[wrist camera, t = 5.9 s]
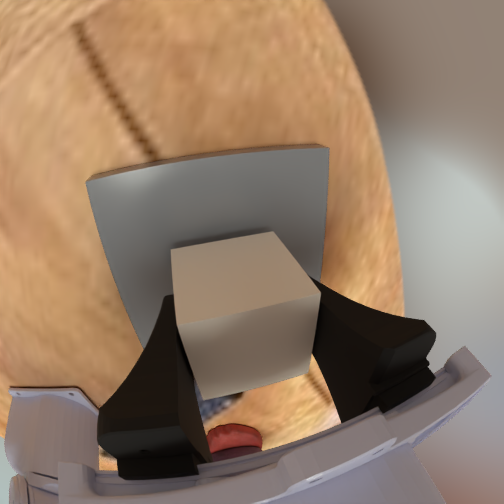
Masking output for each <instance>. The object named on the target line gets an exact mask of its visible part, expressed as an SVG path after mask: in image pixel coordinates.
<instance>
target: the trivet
mask: <svg viewBox="0 0 504 504" xmlns="http://www.w3.org/2000/svg"><path fill="white" fill-rule="evenodd" d="M328 175H329V148H328V147H326V146H322V145H319V144H307V145H286V146H271V147H258V148H247V149H237V150H228V151H220V152H212V153H204V154H197V155H191V156H184V157H178V158H172V159H166V160H161V161H155V162H150V163H145V164H140V165H135V166H130V167H126V168H121V169H117V170H113V171H108V172H104V173H100V174H96V175H92V176H91V177H90V178H89V179H88V180H87V181H86V187H87V191H88V195H89V199H90V203H91V207H92V211H93V215H94V218H95V222H96V225H97V229H98V232H99V236H100V239H101V242H102V245H103V248H104V251H105V255H106V258H107V260H108V263H109V266H110V269H111V272H112V275H113V278H114V280H115V283H116V286H117V288H118V291H119V293H120V296H121V299H122V301H123V304H124V306H125V308H126V311H127V313H128V316H129V318H130V320H131V323H132V325H133V327H134V329H135V332H136V334H137V336H138V338H139V340H140V343H141V345H142V347H143V349H144V348H145V346H146V344H147V342H148V340H149V338H150V335H151V333H152V331H153V328H154V326H155V323H156V320H157V318H158V315H159V312H160V309H161V305H162V302H163V298H164V297H165V296H166V295H172V294H174V292H173V279H172V265H171V249H176V248H182V247H187V246H192V245H198V244H203V243H209V242H215V241H220V240H226V239H231V238H237V237H243V236H248V235H254V234H260V233H266V232H272V231H273V232H274V233H275V234H276V235H277V237H278V238H279V239H280V240H281V242H282V243H283V244H284V245H285V247H286V248H287V249H288V251H289V252H290V253H291V254H292V256H293V257H294V258H295V260H296V261H297V262H298V263H299V265H300V266H301V267H302V269H303V270H304V271H305V272H306V274H307V275H309V276H310V277H312V278H313V279H315V280H317V281H318V282H320V278H321V268H322V259H323V248H324V237H325V225H326V211H327V195H328Z"/></svg>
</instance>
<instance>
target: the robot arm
mask: <svg viewBox="0 0 504 504" xmlns="http://www.w3.org/2000/svg"><path fill="white" fill-rule="evenodd" d="M308 276H309V275H308ZM309 278H310V279H311V280H312V282H313V283H314V284H315V285H316V287H317V288H318V289H319V291H320V292H321V297H320V304H319V311H318V318H317V324H316V331H315V337H314V343H313V348H312V354H313V356H314V358H315V360H316V361H317V364H318V366H319V368H320V370H321V372H322V374H323V377H324V379H325V381H326V384H327V386H328V388H329V391H330V393H331V396H332V398H333V401H334V404H335V406H336V409H337V412H338V415H339V417H340V420H341V423H342V424H339V425H337V426H334V427H332V428H330V429H327V430H325V431H322V432H319V433H317V434H314V435H311V436H309V437H306V438H303V439H300V440H297V441H294V442H291V443H288V444H285V445H282V446H279V447H275V448H272V449H268V450H265V451H261V452H257V453H253V454H249V455H245V456H241V457H237V458H232V459H227V460H222V461H217V462H214V461H213V458H212V455H211V451H210V448H209V445H208V441H207V438H206V434H205V430H204V427H203V423H202V419H201V415H200V411H199V406H198V402H197V398H196V393H195V387H194V379H193V371H192V369H191V366H190V363H189V360H188V357H187V354H186V352H185V349H184V346H183V343H182V340H181V337H180V334H179V330H178V327H177V322H176V313H175V303H174V294H172V295H166V296H165V297H164V298H163V302H162V305H161V309H160V312H159V315H158V318H157V320H156V323H155V326H154V328H153V331H152V333H151V335H150V338H149V340H148V342H147V344H146V346H145V348H144V350H143V352H142V354H141V356H140V358H139V359H138V361H137V363H136V364H135V366H134V367H133V369H132V371H131V372H130V374H129V375H128V376H127V378H126V379H125V380H124V382H123V383H122V384H121V386H120V387H119V388H118V389H117V391H116V392H115V393H114V394H113V395H112V396H111V397H110V398H109V399H108V401H107V402H106V403H105V404H104V405H103V406H102V407H101V408H100V409H99V410H98V409H97V408H96V407H95V406H94V405H93V404H92V403H91V402H90V401H89V399H88V398H87V397H86V396H85V395H84V394H83V393H82V391H81V390H79V389H78V388H52V389H31V388H9V390H8V392H9V393H10V394H11V395H12V396H13V398H12V402H11V407H10V411H9V416H8V422H7V428H6V434H5V443H4V444H5V452H6V456H7V459H8V461H9V463H10V465H11V467H12V468H13V469H14V470H15V471H16V473H18V474H17V475H16V476H14V477H12V478H11V481H10V488H9V504H447V503H446V502H445V500H444V499H443V497H442V495H441V494H440V492H439V490H438V489H437V487H436V486H435V484H434V482H433V481H432V479H431V477H430V476H429V474H428V473H427V471H426V469H425V468H424V466H423V465H422V463H421V461H420V460H419V458H418V457H417V455H416V453H415V452H414V450H413V449H412V448H414V447H415V446H417V445H418V444H420V443H421V442H422V441H424V440H425V439H426V438H428V437H429V436H430V435H432V434H433V433H434V432H435V431H437V430H438V429H439V428H441V427H442V426H443V425H444V424H445V423H447V422H448V421H449V420H450V419H452V418H453V417H454V416H455V415H456V414H457V413H459V412H460V411H461V410H462V409H463V408H464V407H465V406H467V405H468V404H469V402H470V401H471V400H472V399H473V398H474V397H475V396H476V395H477V394H478V393H479V392H480V390H481V389H482V388H483V387H484V386H485V385H486V384H487V382H488V381H489V380H490V379H491V375H490V373H489V372H488V371H487V370H486V369H485V368H484V366H483V365H482V364H481V363H480V362H479V361H478V360H477V359H476V358H475V356H474V355H473V354H472V353H471V352H470V351H469V350H468V349H467V348H466V347H465V346H464V347H462V348H461V349H459V350H458V351H457V352H456V353H454V354H453V355H452V356H451V357H450V358H449V359H448V360H447V362H446V363H445V365H444V367H443V368H441V369H440V370H438V371H437V372H435V373H434V374H433V373H432V372H431V370H430V369H429V368H428V367H427V366H429V361H428V360H427V359H426V357H427V355H428V353H429V352H430V350H431V348H432V346H433V344H434V342H435V339H436V332H435V331H434V330H433V329H432V328H431V327H430V326H429V325H428V324H427V323H426V322H425V321H424V320H418V319H412V318H405V317H401V316H396V315H392V314H388V313H384V312H381V311H378V310H375V309H372V308H369V307H367V306H364V305H362V304H359V303H357V302H355V301H353V300H350V299H348V298H346V297H344V296H343V295H341V294H339V293H337V292H335V291H333V290H332V289H330V288H328V287H326V286H325V285H323V284H321V283H320V282H318V281H317V280H315V279H313V278H312V277H310V276H309ZM98 444H99V445H100V446H101V447H102V448H103V449H104V450H105V451H107V452H108V453H109V454H111V455H112V456H114V457H115V458H116V459H117V466H118V471H106V470H99V447H98Z"/></svg>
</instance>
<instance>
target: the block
mask: <svg viewBox="0 0 504 504" xmlns="http://www.w3.org/2000/svg"><path fill="white" fill-rule="evenodd" d="M171 265H172V279H173V292H174V303H175V313H176V322H177V327H178V330H179V334H180V337H181V340H182V343H183V346H184V349H185V352H186V354H187V357H188V360H189V363H190V366H191V369H192V371H193V374H194V377H195V379H196V382H197V385H198V387H199V390H200V393H201V395H202V398H203V400H206V399H211V398H216V397H221V396H226V395H230V394H235V393H239V392H243V391H247V390H251V389H255V388H259V387H263V386H266V385H270V384H273V383H277V382H280V381H284V380H287V379H290V378H294V377H297V376H300V375H303V374H306V373H308V370H309V365H310V360H311V354H312V348H313V343H314V337H315V331H316V324H317V318H318V311H319V304H320V297H321V292H320V291H319V289H318V288H317V287H316V285H315V284H314V283H313V282H312V280H311V279H310V278H309V276H308V275H307V274H306V272H305V271H304V270H303V269H302V267H301V266H300V265H299V263H298V262H297V261H296V260H295V258H294V257H293V256H292V254H291V253H290V252H289V251H288V249H287V248H286V247H285V245H284V244H283V243H282V242H281V240H280V239H279V238H278V237H277V235H276V234H275V233H274V232H273V231H272V232H266V233H260V234H254V235H248V236H243V237H237V238H231V239H226V240H220V241H215V242H209V243H203V244H198V245H192V246H187V247H182V248H176V249H171Z"/></svg>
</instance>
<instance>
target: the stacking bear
mask: <svg viewBox="0 0 504 504" xmlns="http://www.w3.org/2000/svg"><path fill="white" fill-rule="evenodd" d="M206 438H207V441H208V445H209V448H210V451H211V455H212V458H213V461H214V462H217V461H222V460H227V459H232V458H237V457H241V456H245V455H249V454H253V453H257V452H261V451H262V450H261V448H262V437H261V435H260V433H259V432H258V431H256V430H255V429H253V428H250V427H247V426H242V425H235V424H229V425H224V426H219V427H217V428H215V429H213V430H211V431H210V432H209V434H208V436H207V437H206Z"/></svg>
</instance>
